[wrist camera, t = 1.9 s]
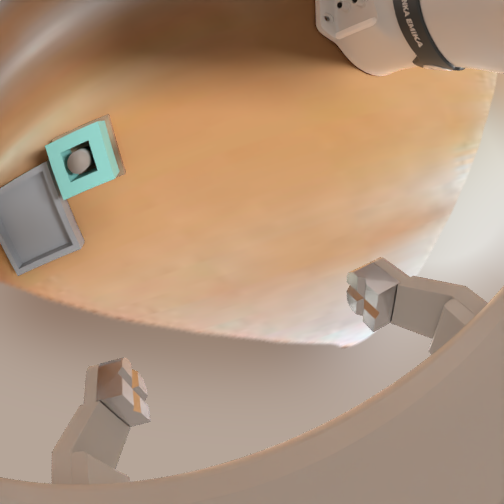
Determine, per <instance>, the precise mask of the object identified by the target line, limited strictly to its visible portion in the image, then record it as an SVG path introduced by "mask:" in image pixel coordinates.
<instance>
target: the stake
mask: <svg viewBox="0 0 504 504" xmlns="http://www.w3.org/2000/svg"><path fill="white" fill-rule="evenodd" d="M104 120H105V124H106V128H107V132H108V135H109V139H110V142H111V146H112V149H113V152H114V156H115V159H116V162H117V165H118V168H119V173H118V175H117V176H116V177H119V176H121V175H124V174H125V173H126V171H125V168H124V164H123V161H122V158H121V155H120V151H119V148H118V145H117V141H116V138H115V134H114V130H113V127H112V123H111V119H110V115H109V114H108V115H105V116H103V117H100V118H98V119H95V120H93V121H90V122H88V123H86V124H84V125H81V126H79V127H77V128H75V129H73V130H70V131H68V132H66V133H64V134H62V135H60V136H58V137H56V138H54V139H52V142H54V141H56V140H58V139H60V138H62V137H64V136H66V135H68V134H70V133H72V132H74V131H76V130H79V129H81V128H83V127H85V126H88V125H90V124H92V123H95V122H97V121H104ZM70 149H71V152H72V154H71V155H70V156H69V158H68V160H67V166H68V169H69V170H70V171H71V172H72V173H74V174H79V175H80V174H82V173H84V172H87V171H89V170H91V169H94V168H96V163H95V160H94V157H93V154H92V151H91V147H90V144H89V141H86V142H83V143H81V144H79V145H77V146H75V147H72V148H70Z"/></svg>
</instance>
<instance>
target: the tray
mask: <svg viewBox="0 0 504 504" xmlns="http://www.w3.org/2000/svg"><path fill="white" fill-rule="evenodd" d="M0 243H1V245H2V247H3V249H4V251H5V253H6V255H7V257H8V259H9V261H10V263H11V265H12V266H13V268H14V270H15V272H16V273H17V275H18V276H19V275H21V274H23V273H25V272H28V271H30V270H32V269H34V268H36V267H39V266H41V265H43V264H46V263H48V262H50V261H53V260H55V259H57V258H60V257H62V256H64V255H67V254H69V253H72V252H74V251H76V250H79V249H81V248H82V246H83V244H84V239H83V236H82V234H81V232H80V230H79V228H78V225H77V223H76V221H75V218H74V216H73V214H72V211H71V209H70V206H69V204H68V201H67V199H66V200H63V197H62V195H61V192H60V189H59V187H58V184H57V181H56V178H55V176H54V173H53V170H52V167H51V164H50V161H49V160H48V161H46V162H44V163H42V164H40V165H39V166H37V167H35V168H33V169H31V170H30V171H28V172H26V173H24V174H23V175H21V176H19V177H18V178H16V179H14V180H13V181H11V182H9V183H8V184H6V185H5V186H3V187H1V188H0Z"/></svg>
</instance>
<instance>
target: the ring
mask: <svg viewBox="0 0 504 504" xmlns="http://www.w3.org/2000/svg"><path fill="white" fill-rule="evenodd" d="M86 141H89V144H90V147H91V151H92V154H93V157H94V160H95V163H96V168H94V169H91V170H89V171H87V172H84V173H82V174H80V175H79V174H74V173H72V172H71V171H70V170H69V169H68V166H67V160H68V158H69V156H70V155H71V154H72V152H71V149H70V148H72V147H75V146H77V145H79V144H81V143H83V142H86ZM45 148H46V151H47V154H48V157H49V161H50V164H51V167H52V170H53V173H54V176H55V178H56V181H57V184H58V187H59V189H60V192H61V195H62V197H63V200H66V199H68V198H70V197H72V196H74V195H77V194H79V193H81V192H84V191H86V190H88V189H91V188H93V187H95V186H98V185H100V184H103V183H105V182H108V181H110V180H113V179H115V178H116V176H117V175H118V173H119V168H118V165H117V162H116V159H115V156H114V152H113V149H112V146H111V142H110V139H109V135H108V132H107V128H106V124H105V120H104V121H97V122H95V123H92V124H90V125H88V126H85V127H83V128H81V129H79V130H76V131H74V132H72V133H70V134H68V135H66V136H64V137H62V138H60V139H58V140H56V141H54V142H52V143H50V144H48V145H46V146H45Z"/></svg>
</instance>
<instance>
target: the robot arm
mask: <svg viewBox="0 0 504 504" xmlns="http://www.w3.org/2000/svg"><path fill="white" fill-rule="evenodd" d="M315 8H316V27H317V29H318V31H319V32H320V33H321V34H323V35H324V36H325V37H327V38H328V39H330V40H332V41H333V42H335V43H336V44H337V46H338V47H339V48H340V49H341V51H342V52H343V53H344V54H345V56H346V57H347V58H348V59H349V60H350V61H351V62H352V63H353V64H354V65H355V66H357V67H358V68H359V69H361V70H363V71H364V72H366V73H369V74H371V75H376V76H385V75H389V74H391V73H393V72H396V71H399V70H402V69H407V68H413V67H422V68H425V69H432V70H445V71H452V70H463V69H465V68H470V69H478V70H485V71H491V72H497V73H503V74H504V0H315ZM324 17H325V18H326V19H327V21H326V20H325V18H324ZM347 283H348V284H349V285H350V286H349V288H348V290H347V300H348V303H349V306H350V307H351V309H352V310H353V311H354V312H355V314H358V315H362V316H363V322H364V323H365V324H366V325H367V326H368V327H369V328H370V329H371V330H372V331H373V332H375V331H376V330H378V329H380V328H382V327H384V326H385V325H387V324H389V323H392V324H394V325H397V326H400V327H402V328H405V329H408V330H410V331H413V332H416V333H418V334H421V335H424V336H427V337H429V338H432V342H431V344H430V347H429V352H430V353H431V356H430V357H428V358H427V359H426V360H424V361H423V362H422V363H420V364H419V365H418V366H417V367H415V368H414V369H412V370H411V371H410V372H408V373H407V374H406V375H404V376H403V377H401V378H400V379H398V380H397V381H396V382H394V383H393V384H391V385H390V386H388V387H387V388H385V389H383V390H382V391H380V392H379V393H377V394H376V395H374V396H372V397H371V398H369V399H368V400H366V401H364V402H363V403H361V404H359V405H357V406H356V407H354V408H352V409H350V410H349V411H347V412H345V413H343V414H341V415H340V416H338V417H336V418H334V419H332V420H330V421H328V422H326V423H324V424H322V425H320V426H318V427H316V428H314V429H312V430H310V431H307V432H305V433H303V434H301V435H299V436H296V437H294V438H292V439H289V440H287V441H285V442H282V443H280V444H277V445H275V446H272V447H270V448H267V449H264V450H262V451H259V452H256V453H253V454H250V455H248V456H244V457H241V458H239V459H235V460H232V461H229V462H225V463H222V464H219V465H215V466H211V467H208V468H204V469H200V470H195V471H191V472H187V473H182V474H177V475H172V476H166V477H161V478H155V479H148V480H140V481H132V482H130V479H129V477H128V476H127V475H126V474H124V473H122V472H119V471H118V470H116V466H117V463H118V461H119V458H120V455H121V452H122V450H123V447H124V444H125V441H126V438H127V436H128V433H129V431H130V427H132V426H136V425H140V424H144V423H148V422H150V421H151V420H150V412H149V406H148V405H147V404H146V403H145V402H144V401H145V400H146V398H147V388H146V385H145V382H144V380H143V378H142V376H141V375H140V374H139V372H138V371H135V370H133V369H132V364H131V362H130V361H129V360H128V359H127V358H120V359H116V360H113V361H109V362H105V363H101V364H98V365H94V366H90V367H88V369H87V371H86V381H85V393H84V404H83V405H80V406H79V408H78V410H77V411H76V413H75V414H74V416H73V418H72V419H71V421H70V422H69V424H68V426H67V428H66V429H65V431H64V432H63V434H62V436H61V438H60V439H59V441H58V442H57V444H56V446H55V448H54V449H53V451H52V484H49V483H38V482H28V481H21V480H14V479H8V478H3V477H0V504H504V286H503V287H502V288H501V290H500V291H499V292H498V293H497V294H496V295H495V296H494V297H493V299H491V300H490V302H489V303H487V302H486V301H484V300H483V299H482V298H481V297H479V296H478V295H477V294H475V293H474V292H473V291H471V290H470V289H469V288H467V287H466V286H462V285H457V284H452V283H447V282H442V281H437V280H432V279H427V278H422V277H417V276H412V277H409V276H408V275H407V274H405V273H404V272H402V271H401V270H400V269H398V268H397V267H396V266H394V265H393V264H391V263H390V262H389V261H387V260H386V259H384V258H381V257H380V258H378V259H376V260H374V261H372V262H370V263H368V264H366V265H364V266H362V267H359V268H357V269H355V270H353V271H351V272H349V273H348V275H347Z"/></svg>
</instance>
